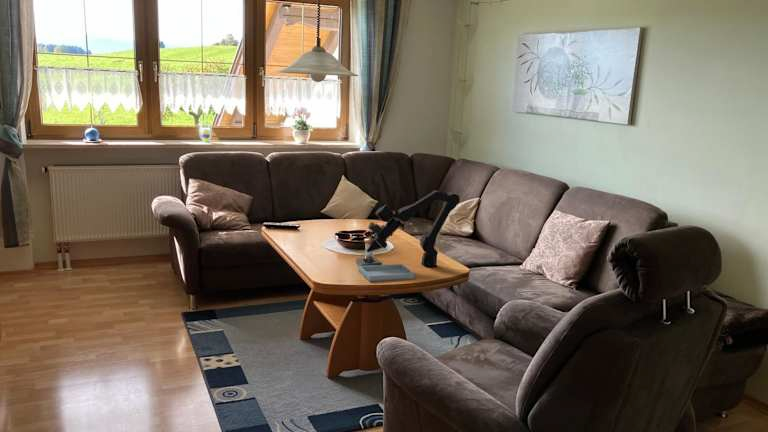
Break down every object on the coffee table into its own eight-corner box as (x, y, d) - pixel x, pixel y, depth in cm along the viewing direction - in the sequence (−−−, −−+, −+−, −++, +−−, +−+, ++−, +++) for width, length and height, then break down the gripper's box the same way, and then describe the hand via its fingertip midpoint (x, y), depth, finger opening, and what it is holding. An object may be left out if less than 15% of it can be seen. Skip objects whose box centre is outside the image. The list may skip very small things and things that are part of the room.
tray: (401, 268, 302) (402, 263, 301) (414, 278, 287) (414, 273, 287) (358, 271, 294) (358, 266, 294) (369, 281, 280) (369, 276, 279)
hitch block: (375, 262, 312) (375, 257, 311) (381, 267, 302) (381, 262, 302) (356, 263, 308) (356, 258, 308) (362, 268, 299) (362, 263, 299)
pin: (372, 261, 309) (373, 237, 306) (376, 264, 304) (376, 240, 301) (361, 262, 307) (362, 238, 304) (365, 265, 302) (366, 240, 299)
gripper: (375, 213, 310) (353, 234, 311) (381, 220, 292) (357, 243, 293) (390, 228, 313) (368, 249, 313) (397, 237, 295) (373, 259, 295)
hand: (366, 250), depth 304 cm, fingers closed on pin, 5 cm apart
